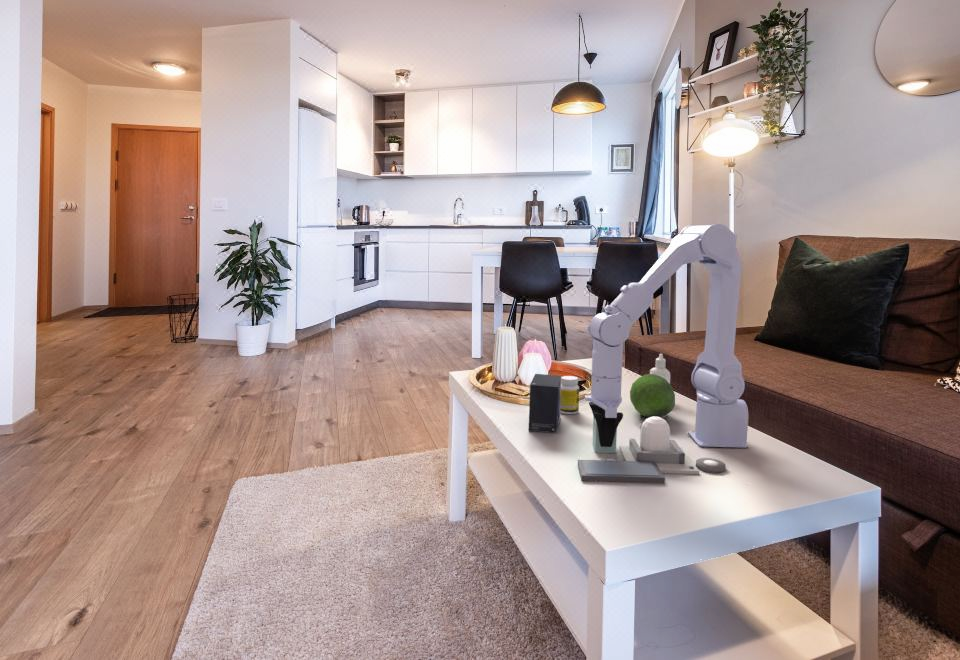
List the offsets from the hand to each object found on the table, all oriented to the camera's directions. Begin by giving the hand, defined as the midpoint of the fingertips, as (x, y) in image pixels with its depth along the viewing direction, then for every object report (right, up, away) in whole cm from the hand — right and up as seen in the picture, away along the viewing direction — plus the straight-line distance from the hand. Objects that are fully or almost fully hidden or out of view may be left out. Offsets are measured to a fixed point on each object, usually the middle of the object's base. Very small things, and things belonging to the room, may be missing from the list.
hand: (604, 442), depth 113 cm
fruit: (+16, +2, +22) cm, 27 cm away
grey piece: (+9, -2, -6) cm, 11 cm away
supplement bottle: (-3, +2, +24) cm, 25 cm away
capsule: (+9, -2, -4) cm, 10 cm away
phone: (0, -3, -12) cm, 12 cm away
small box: (-10, +1, +15) cm, 18 cm away
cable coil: (+17, -3, -9) cm, 20 cm away
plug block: (0, -1, 0) cm, 1 cm away
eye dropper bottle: (+21, +4, +34) cm, 41 cm away
